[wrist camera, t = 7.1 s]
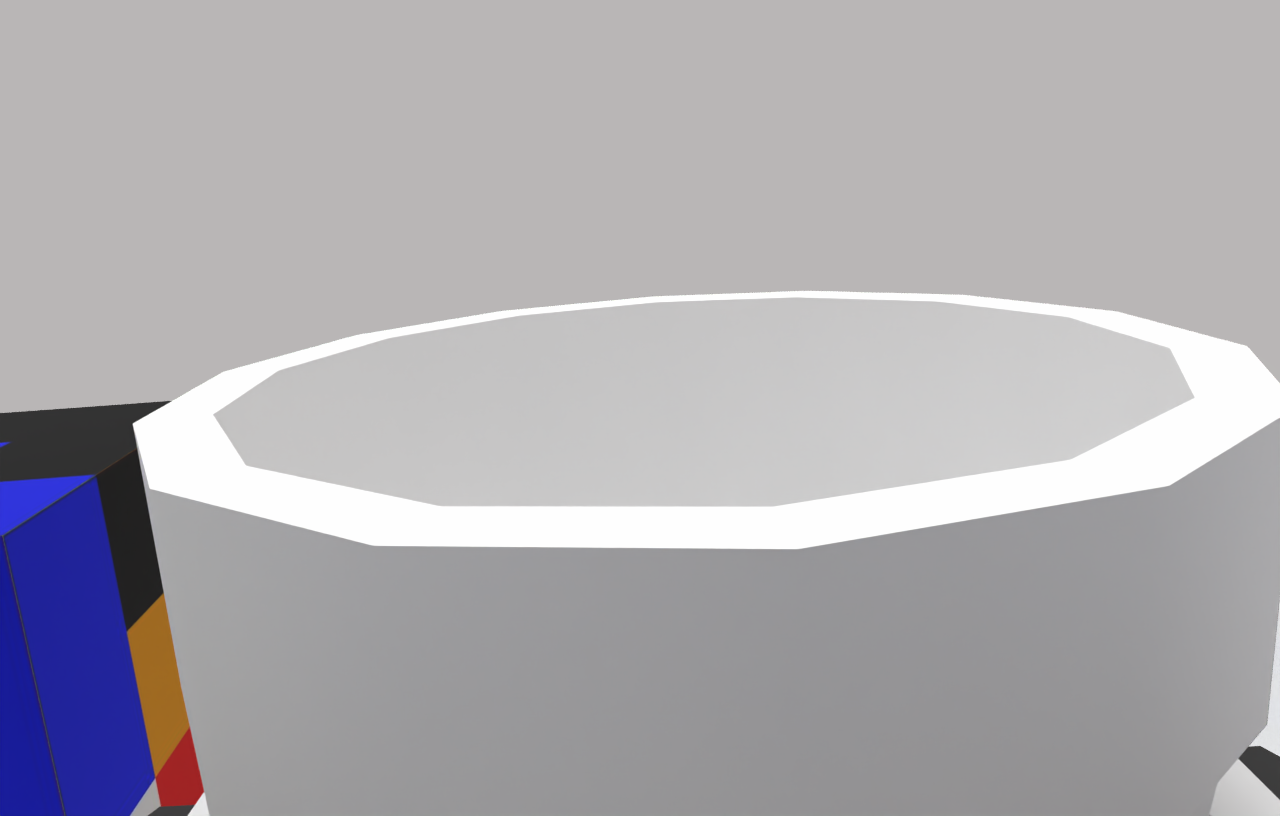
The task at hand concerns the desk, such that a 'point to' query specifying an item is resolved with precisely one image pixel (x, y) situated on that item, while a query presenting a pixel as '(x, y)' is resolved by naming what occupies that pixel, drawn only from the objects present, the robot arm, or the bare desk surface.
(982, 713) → the foam cup
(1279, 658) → the desk surface
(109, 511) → the puzzle toy
